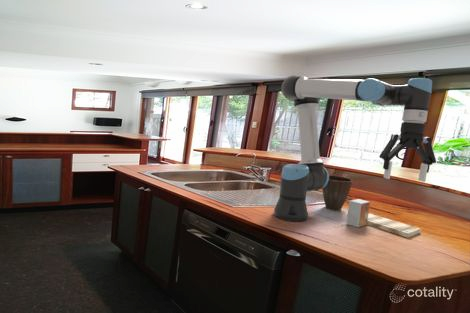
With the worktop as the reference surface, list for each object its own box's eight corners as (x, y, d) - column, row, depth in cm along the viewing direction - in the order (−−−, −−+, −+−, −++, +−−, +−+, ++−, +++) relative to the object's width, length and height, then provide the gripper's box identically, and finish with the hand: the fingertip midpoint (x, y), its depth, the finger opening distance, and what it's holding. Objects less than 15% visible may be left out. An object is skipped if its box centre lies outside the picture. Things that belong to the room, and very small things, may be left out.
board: (355, 220, 131) (356, 216, 131) (368, 217, 138) (369, 213, 138) (407, 237, 114) (408, 233, 113) (419, 232, 121) (420, 228, 121)
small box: (358, 228, 121) (361, 203, 120) (346, 223, 125) (348, 200, 124) (367, 224, 126) (370, 201, 125) (355, 221, 130) (358, 198, 129)
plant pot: (354, 210, 148) (357, 179, 147) (339, 214, 138) (343, 182, 137) (327, 203, 159) (331, 174, 157) (312, 206, 149) (316, 176, 147)
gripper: (386, 119, 100) (377, 179, 102) (454, 125, 101) (443, 184, 104) (374, 119, 107) (366, 175, 110) (438, 125, 108) (428, 180, 111)
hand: (404, 179), depth 107 cm, fingers open, 13 cm apart
